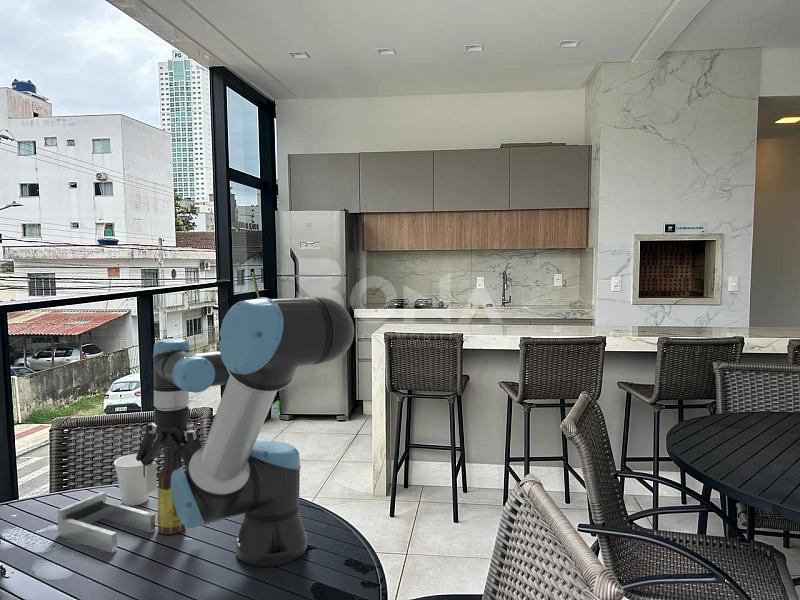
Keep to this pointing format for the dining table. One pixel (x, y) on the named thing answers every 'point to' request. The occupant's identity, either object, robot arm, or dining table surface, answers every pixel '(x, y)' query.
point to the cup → (131, 480)
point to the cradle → (94, 508)
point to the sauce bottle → (168, 494)
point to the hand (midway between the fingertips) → (172, 496)
